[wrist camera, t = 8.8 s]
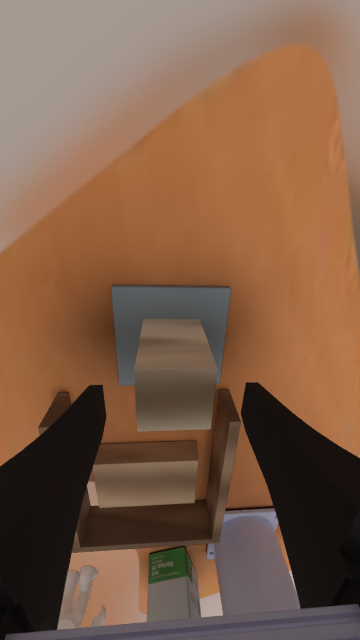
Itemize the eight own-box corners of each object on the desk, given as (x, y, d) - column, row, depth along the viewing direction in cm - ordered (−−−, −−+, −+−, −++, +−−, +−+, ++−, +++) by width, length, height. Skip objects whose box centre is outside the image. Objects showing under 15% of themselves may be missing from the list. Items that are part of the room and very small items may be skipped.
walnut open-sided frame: (212, 504, 27) (219, 543, 24) (83, 511, 26) (72, 552, 23) (228, 389, 21) (240, 421, 17) (58, 392, 20) (38, 427, 16)
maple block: (196, 366, 19) (210, 429, 13) (144, 366, 19) (137, 431, 13) (199, 319, 17) (217, 368, 12) (143, 318, 17) (134, 369, 11)
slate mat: (218, 379, 20) (219, 383, 20) (120, 381, 20) (119, 385, 19) (229, 286, 17) (230, 288, 16) (112, 284, 16) (110, 287, 16)
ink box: (147, 552, 30) (139, 741, 19) (186, 544, 30) (199, 730, 19) (163, 583, 34) (164, 758, 23) (198, 576, 34) (215, 749, 23)
